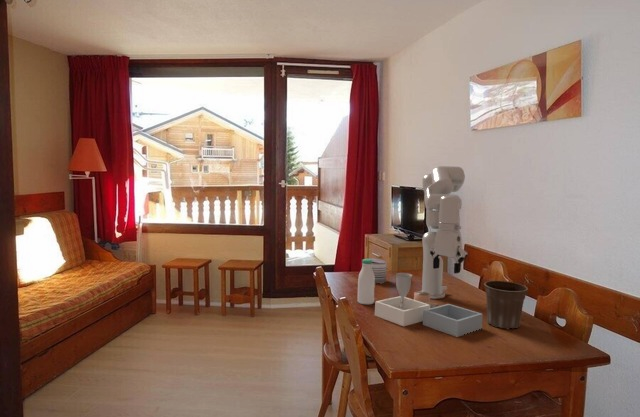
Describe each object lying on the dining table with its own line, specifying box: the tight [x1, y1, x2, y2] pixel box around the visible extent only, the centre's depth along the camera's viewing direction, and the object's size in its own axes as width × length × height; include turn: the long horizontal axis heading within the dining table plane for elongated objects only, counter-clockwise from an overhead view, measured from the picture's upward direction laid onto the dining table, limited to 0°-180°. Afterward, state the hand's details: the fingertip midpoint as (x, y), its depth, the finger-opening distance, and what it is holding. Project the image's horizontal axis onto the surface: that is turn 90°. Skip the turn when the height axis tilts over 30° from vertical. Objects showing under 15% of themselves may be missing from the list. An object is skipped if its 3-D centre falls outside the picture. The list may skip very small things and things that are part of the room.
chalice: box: [395, 272, 413, 310], centre depth 188 cm, size 7×7×18 cm
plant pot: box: [483, 280, 529, 329], centre depth 182 cm, size 16×16×16 cm
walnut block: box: [426, 301, 439, 308], centre depth 192 cm, size 5×5×5 cm
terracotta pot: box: [413, 291, 431, 303], centre depth 200 cm, size 7×7×7 cm
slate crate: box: [422, 303, 484, 338], centre depth 178 cm, size 16×16×6 cm
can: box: [370, 258, 387, 284], centre depth 249 cm, size 11×11×12 cm
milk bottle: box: [357, 258, 376, 305], centre depth 208 cm, size 8×8×20 cm
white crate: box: [374, 295, 430, 327], centre depth 188 cm, size 16×16×6 cm
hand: (446, 270), depth 178 cm, fingers open, 9 cm apart
